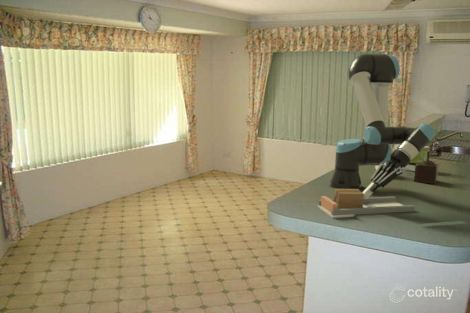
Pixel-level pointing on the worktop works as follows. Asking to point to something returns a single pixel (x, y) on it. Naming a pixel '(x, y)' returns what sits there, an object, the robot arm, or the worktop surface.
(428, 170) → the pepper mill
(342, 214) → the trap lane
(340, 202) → the walnut block
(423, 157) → the tea box
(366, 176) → the worktop surface
